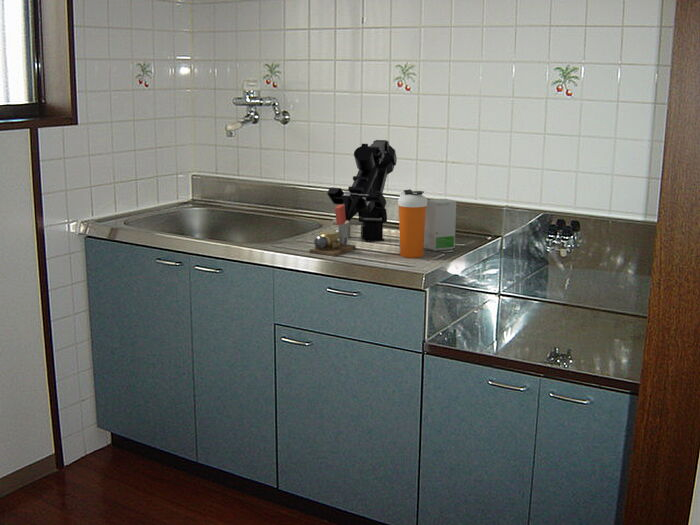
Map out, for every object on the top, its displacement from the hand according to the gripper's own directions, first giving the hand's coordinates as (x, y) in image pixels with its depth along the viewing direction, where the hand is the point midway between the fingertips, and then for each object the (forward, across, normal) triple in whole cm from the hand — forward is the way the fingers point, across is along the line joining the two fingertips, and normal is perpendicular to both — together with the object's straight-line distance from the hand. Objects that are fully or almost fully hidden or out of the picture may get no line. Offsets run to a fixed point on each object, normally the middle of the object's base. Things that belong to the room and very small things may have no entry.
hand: (347, 219), depth 260 cm
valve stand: (+8, +5, -7) cm, 12 cm away
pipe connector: (-7, +12, -22) cm, 26 cm away
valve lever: (+6, +1, -6) cm, 8 cm away
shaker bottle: (+3, -19, -12) cm, 23 cm away
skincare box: (-7, -22, -22) cm, 32 cm away
